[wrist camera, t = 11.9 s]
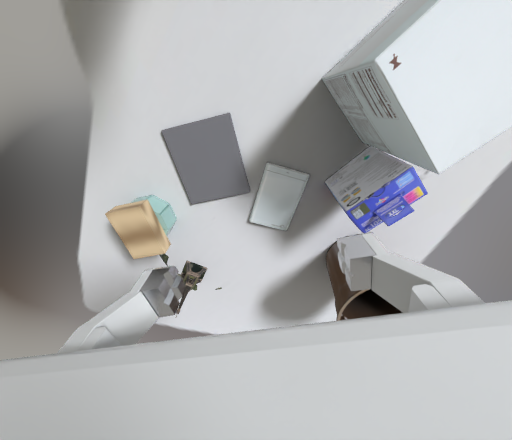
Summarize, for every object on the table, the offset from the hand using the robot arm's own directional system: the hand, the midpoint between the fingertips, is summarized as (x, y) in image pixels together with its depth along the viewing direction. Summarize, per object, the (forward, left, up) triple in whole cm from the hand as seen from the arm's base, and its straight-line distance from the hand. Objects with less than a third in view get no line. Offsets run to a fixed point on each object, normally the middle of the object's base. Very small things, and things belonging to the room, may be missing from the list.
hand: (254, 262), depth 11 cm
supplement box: (-6, +21, -31) cm, 38 cm away
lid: (+9, -25, -27) cm, 37 cm away
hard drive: (+11, +1, -32) cm, 34 cm away
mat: (+1, -10, -31) cm, 33 cm away
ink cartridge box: (+9, +15, -31) cm, 36 cm away
